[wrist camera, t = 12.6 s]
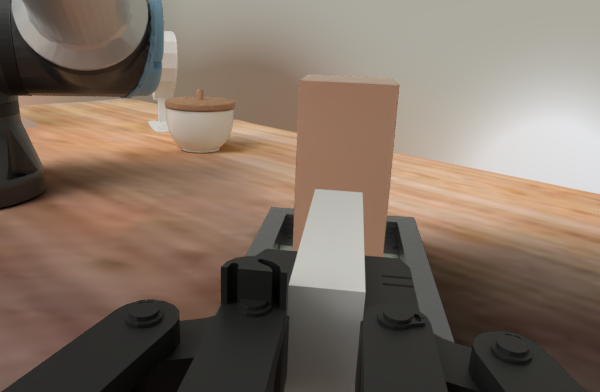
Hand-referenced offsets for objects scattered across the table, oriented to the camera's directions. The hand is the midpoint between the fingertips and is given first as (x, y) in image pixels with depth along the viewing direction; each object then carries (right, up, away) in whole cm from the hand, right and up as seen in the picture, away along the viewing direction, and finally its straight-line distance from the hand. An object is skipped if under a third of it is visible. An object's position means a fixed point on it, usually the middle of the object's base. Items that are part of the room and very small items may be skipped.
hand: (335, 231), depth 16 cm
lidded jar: (-17, +8, +65) cm, 68 cm away
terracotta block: (+2, -5, +21) cm, 22 cm away
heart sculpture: (-28, +15, +85) cm, 91 cm away
